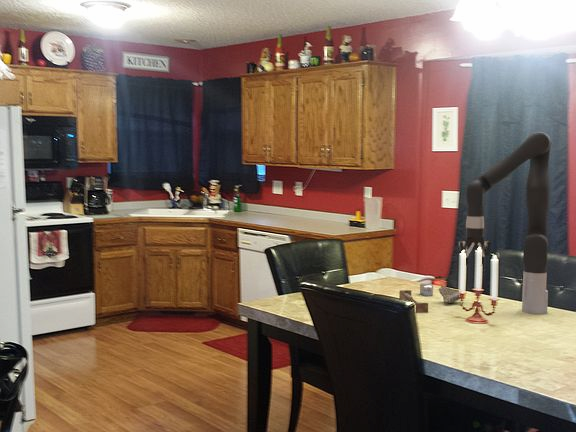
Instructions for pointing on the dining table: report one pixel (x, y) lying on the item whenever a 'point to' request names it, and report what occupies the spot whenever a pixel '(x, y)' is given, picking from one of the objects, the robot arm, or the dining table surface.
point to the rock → (449, 294)
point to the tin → (426, 290)
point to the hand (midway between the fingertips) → (473, 265)
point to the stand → (407, 296)
